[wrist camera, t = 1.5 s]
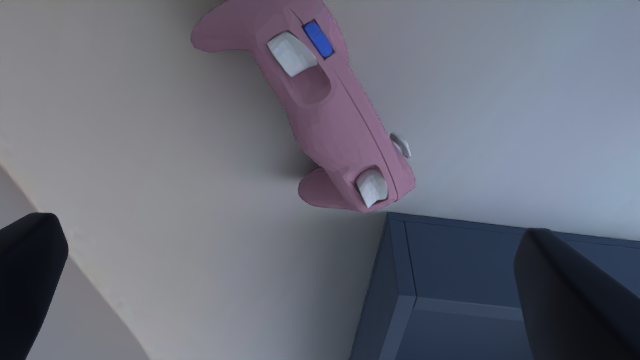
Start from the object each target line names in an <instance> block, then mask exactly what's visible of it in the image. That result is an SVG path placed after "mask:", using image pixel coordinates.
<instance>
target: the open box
mask: <svg viewBox="0 0 640 360" xmlns="http://www.w3.org/2000/svg"><path fill="white" fill-rule="evenodd" d="M525 230H526V228H517V227H509V226H500V225H492V224H483V223H475V222H466V221H458V220H449V219H441V218H432V217H424V216H415V215H407V214H398V213H390V212H388V213H387V216H386V220H385V224H384V228H383V232H382V236H381V239H380V243H379V247H378V251H377V255H376V259H375V262H374V266H373V270H372V274H371V278H370V282H369V285H368V289H367V293H366V297H365V301H364V304H363V308H362V312H361V316H360V320H359V324H358V327H357V331H356V335H355V339H354V343H353V347H352V350H351V354H350V358H349V360H534V358H533V355H532V352H531V348H530V345H529V341H528V337H527V333H526V328H525V323H524V319H523V314H522V309H521V304H520V299H519V294H518V289H517V285H516V280H515V275H514V268H513V263H514V258H515V255H516V252H517V249H518V246H519V243H520V240H521V237H522V234H523V232H524V231H525ZM553 233H555V234H556V235H557V236H559V237H560V238H561V239H563V240H564V241H565V242H567V243H568V244H569V245H571V246H572V247H573V248H575V249H576V250H577V251H579V252H580V253H581V254H583V255H584V256H585V257H587V258H588V259H589V260H591V261H592V262H593V263H595V264H596V265H597V266H599V267H600V268H601V269H603V270H604V271H605V272H607V273H608V274H609V275H611V276H612V277H613V278H615V279H616V280H617V281H619V282H620V283H621V284H623V285H624V286H625V287H627V288H628V289H629V290H631V291H632V292H633V293H635V294H636V295H637V296H639V297H640V242H636V241H628V240H619V239H611V238H602V237H594V236H585V235H577V234H568V233H560V232H553Z"/></svg>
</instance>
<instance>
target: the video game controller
mask: <svg viewBox="0 0 640 360" xmlns="http://www.w3.org/2000/svg"><path fill="white" fill-rule="evenodd" d="M191 42H192V44H193V46H194V47H195V48H197V49H200V50H202V51H206V52H217V51H224V50H247V51H249V52H251V54H252V55H253V57H254V59H255V60H256V62H257V64H258V66H259V68H260V69H261V71H262V73H263V75H264V76H265V78H266V80H267V81H268V83H269V84H270V86H271V87H272V89H273V90H274V92H275V93H276V95H277V96H278V98H279V99H280V101H281V102H282V104H283V105H284V107H285V109H286V113H287V116H288V120H289V124H290V126H291V129H292V131H293V134H294V136H295V139H296V141H297V142H298V144H299V145H300V147H301V148H302V150H303V151H304V152H305V153H306V154H307V155H308V156H309V157H310V158H311V159H312V160H313V161H314V162H315V163H317V164H318V165H320V166H321V167H319V168H317V169H314V170H313V171H311V172H310V173H309V174H307V175H305V176H304V178H303V179H302V180H301V182H300V183H299V187H298V194H299V196H300V198H301V199H302V200H304V201H305V202H306V203H308V204H310V205H312V206H316V207H323V208H339V209H347V210H351V211H355V212H361V213H367V212H370V211H374V210H377V209H380V208H383V207H385V206H387V205H389V204H391V203H393V202H396V201H397V200H399V199H400V198H401V197H403V196H404V195H405V194H407V193H408V192H409V191H411V190H412V189H413V188H415V185H416V184H415V177H414V174H413V172H412V169H411V167H410V166H409V164H408V163H407V161H406V159H405V158H404V156H405V157H406V158H410V157H411V153H410V148H409V144H408V142H407V141H406V140H405V139H404V138H403V137H402V136H400V135H398V134H395V133H391V135H390V138H391V139H390V138H389V137H388V135H387V133H386V131H385V129H384V127H383V125H382V123H381V121H380V119H379V117H378V115H377V113H376V111H375V109H374V108H373V106H372V104H371V102H370V100H369V99H368V97H367V95H366V93H365V91H364V90H363V88H362V86H361V85H360V83H359V81H358V80H357V78H356V77H355V75H354V73H353V72H352V70H351V68H350V67H349V65H348V60H349V57H348V51H347V48H346V44H345V41H344V38H343V36H342V33H341V31H340V29H339V27H338V25H337V23H336V21H335V20H334V18H333V16H332V14H331V13H330V11H329V10H328V9H327V7H326V6H325V4H324V3H323V2H322V0H227V1H225V2H224V3H222V4H220V5H219V6H217V7H215V8H214V9H212V10H210V11H209V12H208V13H207V14H205V15H204V16H203V17H202V18H201V19H200V21H199V22H198V23H197V25H196V26H195V27H194V28H193V30H192V33H191Z"/></svg>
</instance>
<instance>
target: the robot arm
mask: <svg viewBox="0 0 640 360" xmlns="http://www.w3.org/2000/svg"><path fill="white" fill-rule="evenodd" d="M67 256H68V243H67V240H66V238H65V235H64V232H63V230H62V227H61V225H60V222H59V219H58V217H57V216H56V215H55V214H52V213H38V212H35V213H30V214H28V215H26V216H24V217H22V218H21V219H19V220H17V221H15V222H13V223H12V224H10V225H8V226H6V227H4V228H2V229H1V230H0V360H25V359H26V357H27V355H28V353H29V351H30V349H31V347H32V345H33V343H34V341H35V339H36V337H37V335H38V333H39V331H40V329H41V326H42V324H43V322H44V319H45V317H46V314H47V312H48V309H49V306H50V303H51V301H52V298H53V295H54V292H55V290H56V287H57V284H58V281H59V279H60V276H61V273H62V271H63V268H64V265H65V262H66V260H67ZM513 268H514V275H515V280H516V285H517V289H518V294H519V299H520V304H521V309H522V314H523V319H524V323H525V328H526V333H527V337H528V341H529V345H530V348H531V352H532V355H533V358H534V360H640V297H639V296H637V295H636V294H635V293H633V292H632V291H631V290H629V289H628V288H627V287H625V286H624V285H623V284H621V283H620V282H619V281H617V280H616V279H615V278H613V277H612V276H611V275H609V274H608V273H607V272H605V271H604V270H603V269H601V268H600V267H599V266H597V265H596V264H595V263H593V262H592V261H591V260H589V259H588V258H587V257H585V256H584V255H583V254H581V253H580V252H579V251H577V250H576V249H575V248H573V247H572V246H571V245H569V244H568V243H567V242H565V241H564V240H563V239H561V238H560V237H559V236H557V235H556V234H555V233H553V232H552V231H551V230H549V229H542V228H528V229H526V230H525V231H524V232H523V234H522V237H521V240H520V243H519V246H518V249H517V252H516V255H515V258H514V263H513Z"/></svg>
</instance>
